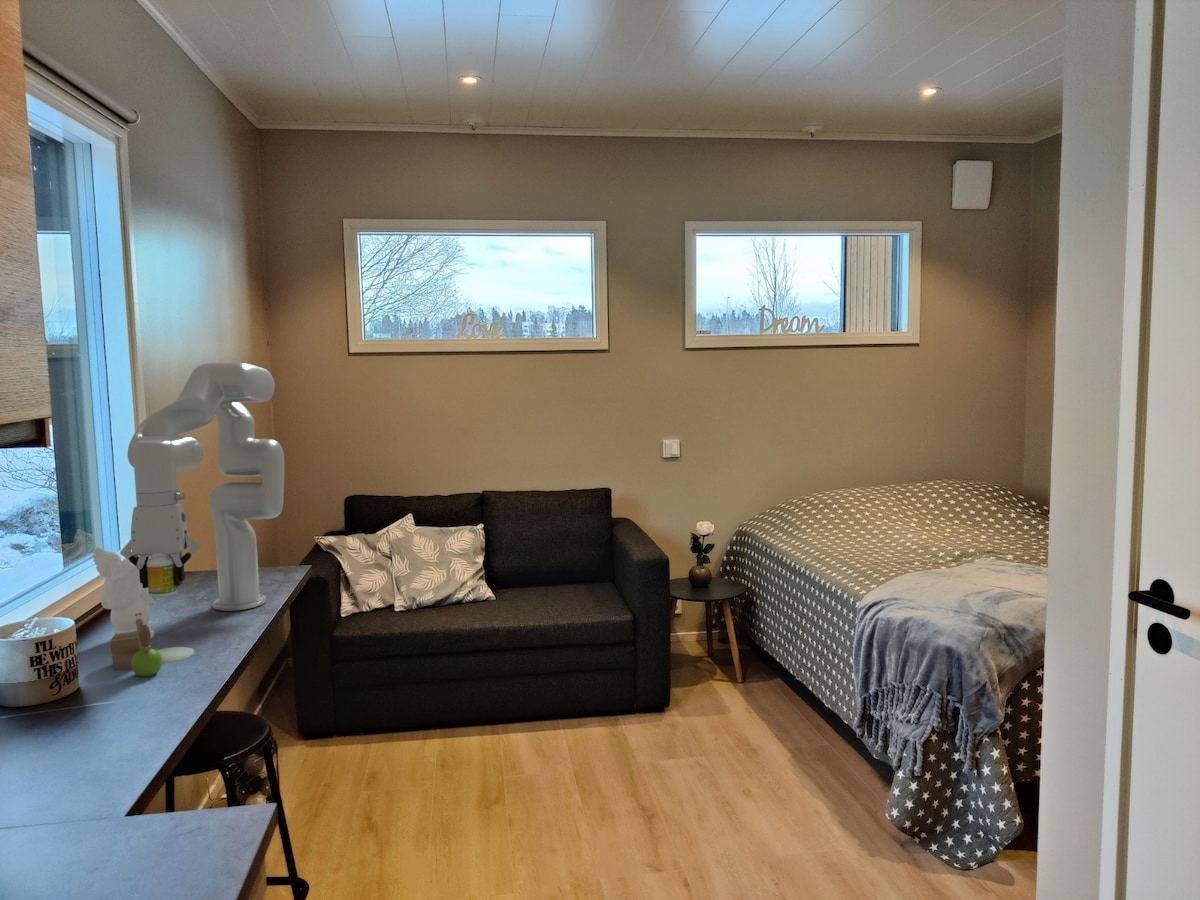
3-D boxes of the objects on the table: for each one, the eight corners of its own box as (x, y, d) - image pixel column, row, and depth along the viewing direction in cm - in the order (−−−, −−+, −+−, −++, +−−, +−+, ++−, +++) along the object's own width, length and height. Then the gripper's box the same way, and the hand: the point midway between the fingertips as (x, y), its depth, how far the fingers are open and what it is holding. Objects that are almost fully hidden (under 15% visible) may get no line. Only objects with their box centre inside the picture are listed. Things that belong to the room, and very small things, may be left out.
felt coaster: (150, 650, 179) (149, 648, 179) (199, 647, 180) (199, 645, 180) (133, 667, 169) (133, 665, 169) (186, 663, 171) (186, 661, 171)
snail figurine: (156, 667, 168) (152, 609, 167) (167, 675, 164) (163, 616, 163) (126, 674, 165) (122, 615, 163) (136, 683, 160) (132, 622, 159)
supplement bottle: (165, 598, 170) (162, 551, 169) (142, 596, 171) (139, 550, 170) (183, 591, 175) (180, 545, 174) (161, 590, 176) (158, 545, 175)
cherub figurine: (157, 630, 193) (151, 536, 191) (166, 644, 183) (159, 545, 181) (96, 640, 186) (89, 544, 184) (102, 656, 176) (94, 553, 174)
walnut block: (118, 662, 171) (114, 634, 170) (145, 658, 173) (142, 630, 172) (113, 670, 166) (110, 641, 166) (141, 666, 168) (138, 637, 167)
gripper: (206, 495, 177) (211, 578, 178) (118, 498, 173) (124, 583, 175) (196, 500, 169) (202, 587, 171) (104, 504, 166) (111, 593, 168)
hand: (162, 584), depth 173 cm, fingers closed on supplement bottle, 5 cm apart
